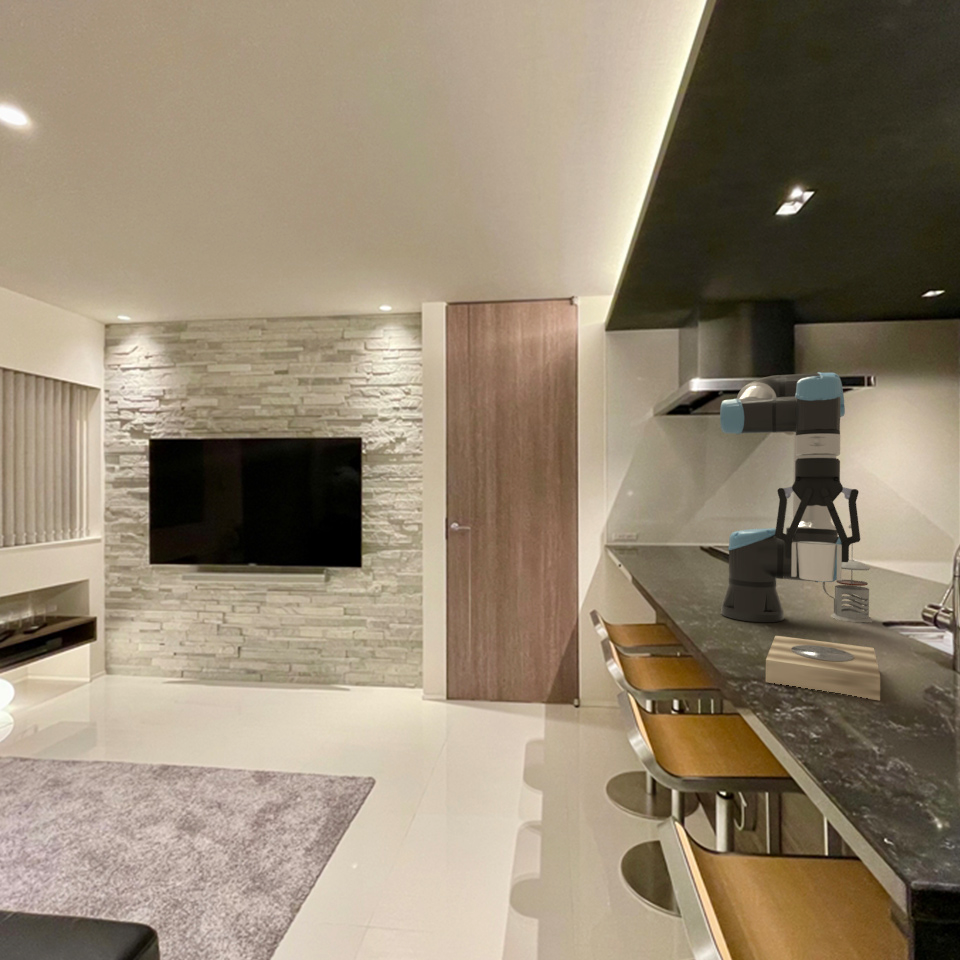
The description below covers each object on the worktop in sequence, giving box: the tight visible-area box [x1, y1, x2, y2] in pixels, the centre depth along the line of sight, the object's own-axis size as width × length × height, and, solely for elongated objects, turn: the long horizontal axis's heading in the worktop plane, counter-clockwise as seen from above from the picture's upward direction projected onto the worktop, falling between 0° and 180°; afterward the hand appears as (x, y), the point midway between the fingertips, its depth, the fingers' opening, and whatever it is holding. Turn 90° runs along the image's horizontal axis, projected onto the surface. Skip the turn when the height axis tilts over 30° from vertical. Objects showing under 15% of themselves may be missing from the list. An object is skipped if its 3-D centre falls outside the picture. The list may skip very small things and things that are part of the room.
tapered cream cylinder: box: [796, 541, 837, 582], centre depth 116 cm, size 7×7×7 cm
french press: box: [822, 523, 874, 623], centre depth 161 cm, size 10×12×25 cm
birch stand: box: [765, 635, 881, 701], centre depth 112 cm, size 20×17×4 cm
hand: (816, 577), depth 116 cm, fingers closed on tapered cream cylinder, 7 cm apart
